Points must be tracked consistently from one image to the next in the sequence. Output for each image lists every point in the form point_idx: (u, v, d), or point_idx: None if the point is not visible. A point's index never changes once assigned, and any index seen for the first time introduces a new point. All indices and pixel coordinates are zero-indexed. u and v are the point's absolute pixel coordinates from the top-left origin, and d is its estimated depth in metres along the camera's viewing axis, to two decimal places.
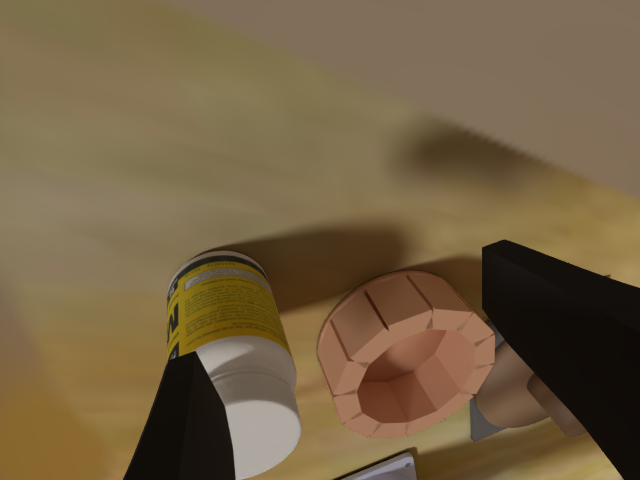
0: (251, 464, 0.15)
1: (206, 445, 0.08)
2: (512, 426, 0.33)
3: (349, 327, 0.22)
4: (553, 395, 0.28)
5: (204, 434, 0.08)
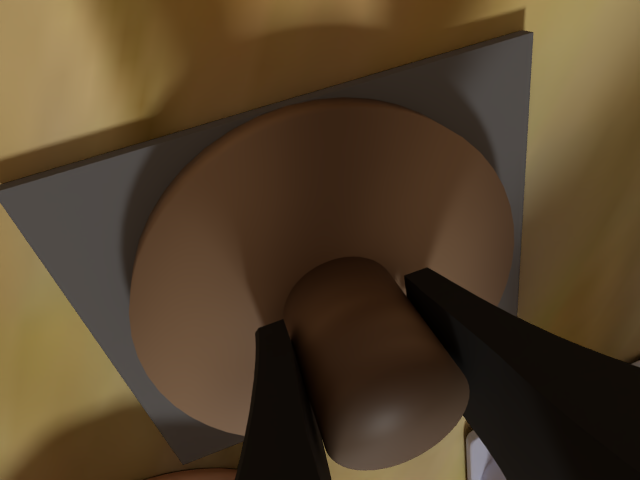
0: None
1: (307, 406, 0.09)
2: None
3: None
4: None
5: (304, 395, 0.09)
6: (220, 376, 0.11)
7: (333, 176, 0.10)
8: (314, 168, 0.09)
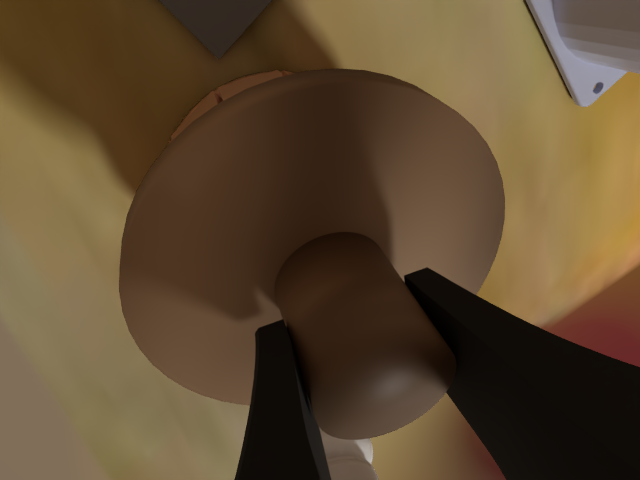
0: None
1: (308, 406, 0.09)
2: (474, 290, 0.14)
3: None
4: None
5: (305, 395, 0.09)
6: (212, 349, 0.12)
7: (324, 152, 0.09)
8: (304, 145, 0.09)
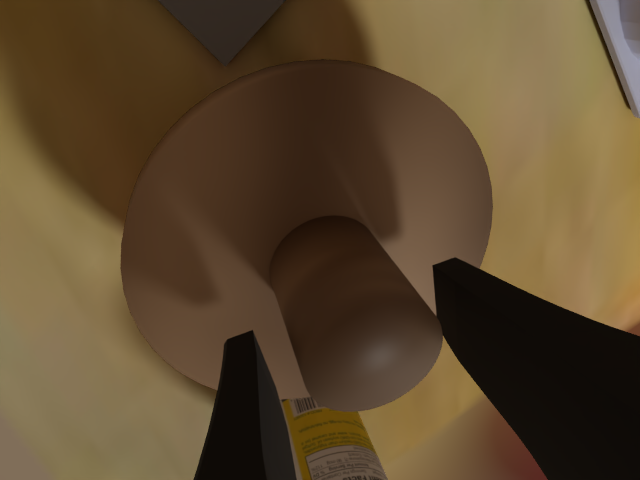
0: None
1: (272, 420, 0.09)
2: None
3: None
4: None
5: (270, 409, 0.09)
6: (210, 334, 0.12)
7: (313, 134, 0.10)
8: (293, 127, 0.10)
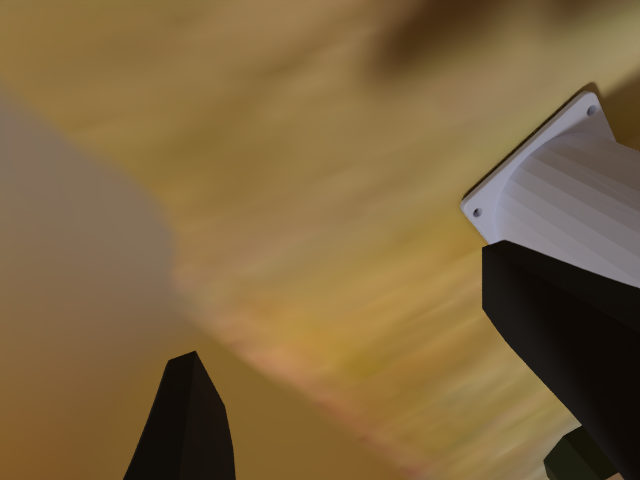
0: None
1: (207, 445, 0.08)
2: None
3: None
4: None
5: (204, 434, 0.08)
6: None
7: None
8: None
